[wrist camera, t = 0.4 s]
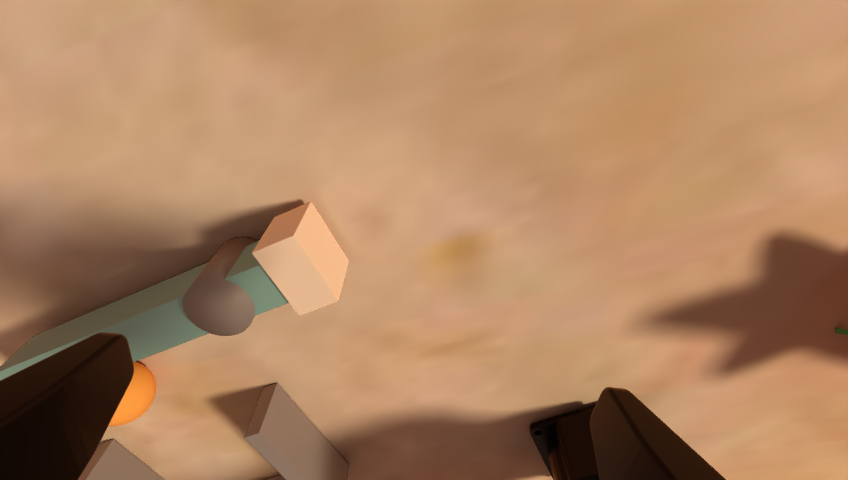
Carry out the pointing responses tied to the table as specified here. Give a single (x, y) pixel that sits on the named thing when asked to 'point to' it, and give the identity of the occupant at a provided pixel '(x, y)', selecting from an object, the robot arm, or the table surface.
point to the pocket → (267, 432)
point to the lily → (841, 331)
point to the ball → (135, 396)
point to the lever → (214, 293)
